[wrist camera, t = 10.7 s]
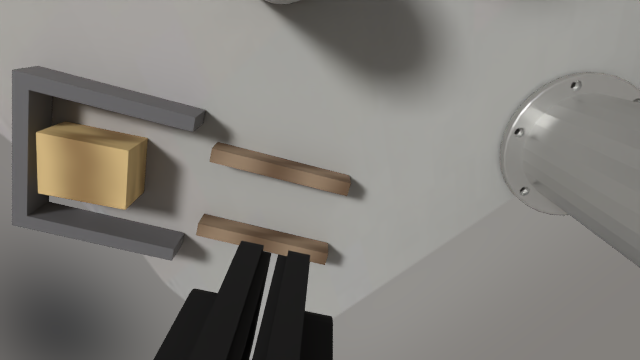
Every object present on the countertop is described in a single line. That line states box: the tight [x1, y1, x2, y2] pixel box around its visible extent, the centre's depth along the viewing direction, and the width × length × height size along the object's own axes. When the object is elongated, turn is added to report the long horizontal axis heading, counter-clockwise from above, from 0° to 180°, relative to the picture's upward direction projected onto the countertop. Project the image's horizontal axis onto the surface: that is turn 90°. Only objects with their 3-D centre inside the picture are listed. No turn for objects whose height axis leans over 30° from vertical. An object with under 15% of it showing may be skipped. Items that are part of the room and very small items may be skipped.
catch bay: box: [12, 66, 205, 261], centre depth 34 cm, size 14×13×3 cm
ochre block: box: [36, 121, 148, 210], centre depth 34 cm, size 7×5×4 cm
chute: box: [196, 142, 351, 265], centre depth 36 cm, size 12×8×2 cm
